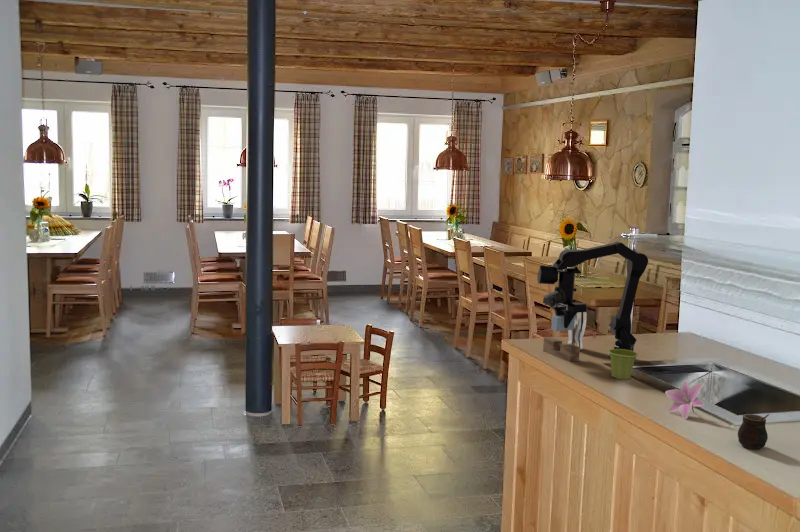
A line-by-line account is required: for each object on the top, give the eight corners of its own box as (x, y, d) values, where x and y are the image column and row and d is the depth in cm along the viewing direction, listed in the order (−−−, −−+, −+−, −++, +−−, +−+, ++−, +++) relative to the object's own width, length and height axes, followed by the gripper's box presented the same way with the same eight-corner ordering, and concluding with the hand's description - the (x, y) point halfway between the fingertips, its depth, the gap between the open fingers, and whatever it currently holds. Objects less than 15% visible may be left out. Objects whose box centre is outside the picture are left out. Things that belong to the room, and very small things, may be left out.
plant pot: (635, 375, 274) (637, 350, 273) (635, 382, 265) (637, 357, 264) (606, 372, 277) (609, 347, 276) (606, 379, 268) (608, 353, 267)
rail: (551, 350, 305) (552, 337, 304) (578, 360, 291) (579, 347, 290) (542, 350, 303) (543, 337, 302) (569, 361, 289) (571, 348, 288)
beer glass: (587, 349, 308) (590, 311, 306) (572, 350, 305) (575, 311, 303) (577, 345, 314) (580, 307, 312) (562, 346, 311) (565, 308, 309)
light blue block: (568, 328, 298) (569, 314, 298) (573, 329, 296) (574, 316, 295) (551, 329, 295) (552, 316, 294) (556, 331, 292) (557, 317, 291)
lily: (662, 408, 242) (656, 384, 238) (699, 395, 242) (694, 371, 237) (679, 434, 232) (673, 409, 227) (718, 420, 231) (713, 395, 227)
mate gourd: (744, 439, 215) (748, 403, 214) (772, 448, 210) (777, 411, 208) (731, 445, 211) (735, 408, 209) (759, 454, 205) (764, 416, 204)
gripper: (532, 281, 297) (529, 322, 300) (564, 290, 281) (561, 333, 283) (557, 280, 302) (554, 321, 305) (589, 289, 286) (586, 332, 288)
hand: (562, 326), depth 295 cm, fingers closed on light blue block, 3 cm apart
